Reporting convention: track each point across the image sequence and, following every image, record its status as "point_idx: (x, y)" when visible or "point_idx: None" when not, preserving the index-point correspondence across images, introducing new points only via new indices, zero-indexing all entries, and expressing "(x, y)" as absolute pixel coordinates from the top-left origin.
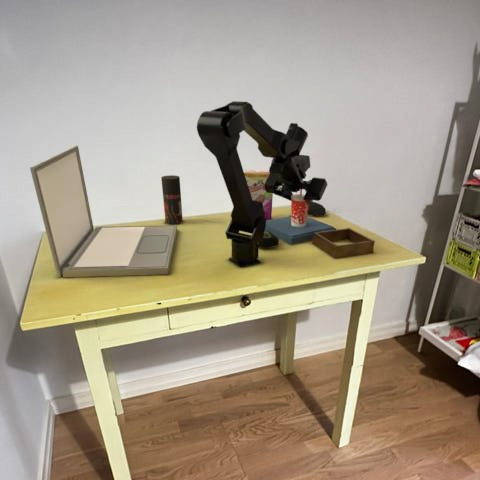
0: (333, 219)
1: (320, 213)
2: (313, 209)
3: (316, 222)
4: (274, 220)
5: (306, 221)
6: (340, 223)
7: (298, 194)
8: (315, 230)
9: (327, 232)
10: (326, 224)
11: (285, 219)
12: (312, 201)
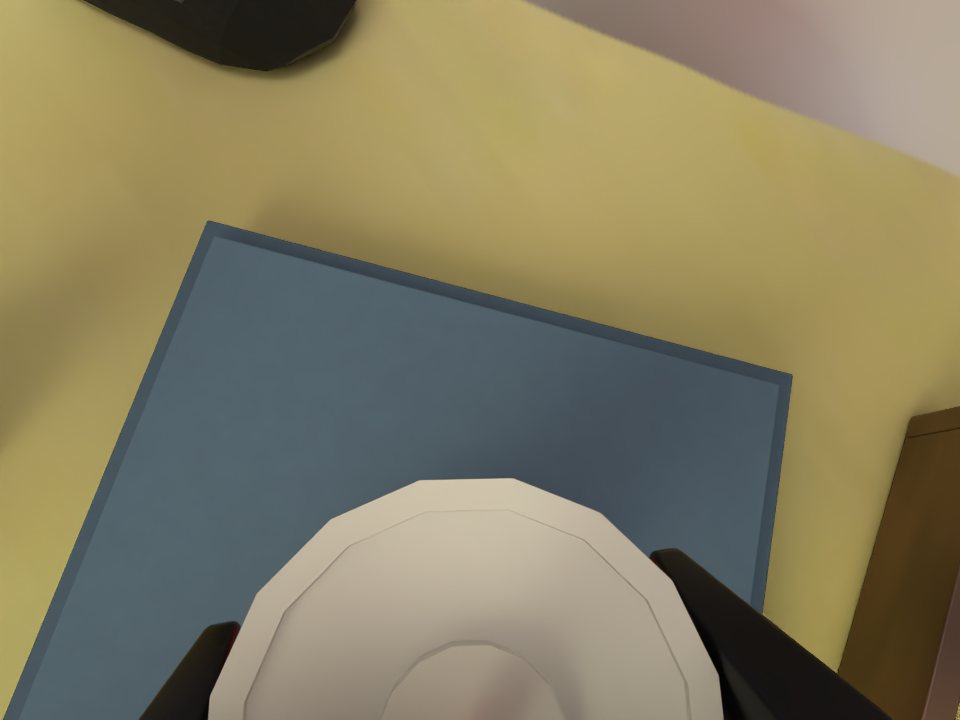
0: (464, 23)
1: (324, 16)
2: (234, 7)
3: (551, 386)
4: (90, 709)
5: (443, 436)
6: (582, 82)
7: (301, 597)
8: None
9: (952, 709)
10: (673, 370)
11: (189, 556)
12: (693, 568)
